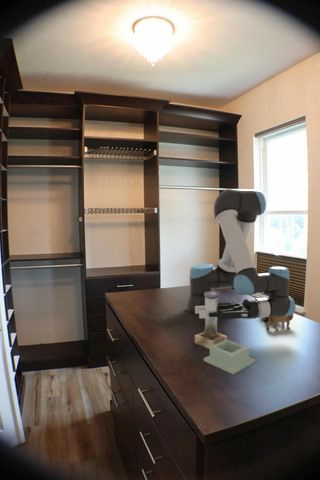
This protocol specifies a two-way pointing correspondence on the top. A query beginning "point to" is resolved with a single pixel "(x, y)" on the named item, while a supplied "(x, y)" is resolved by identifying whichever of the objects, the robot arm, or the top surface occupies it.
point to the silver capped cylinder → (211, 305)
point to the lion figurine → (280, 320)
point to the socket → (229, 356)
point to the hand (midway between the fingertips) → (197, 312)
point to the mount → (205, 338)
